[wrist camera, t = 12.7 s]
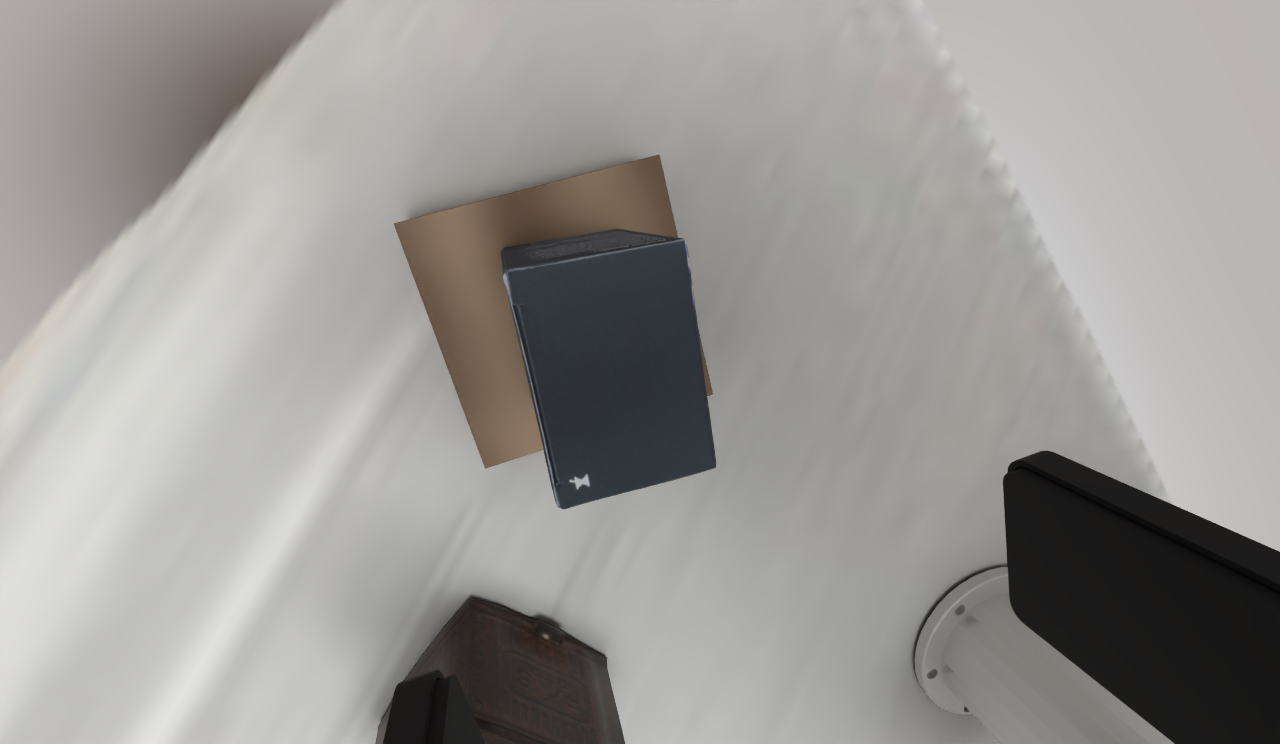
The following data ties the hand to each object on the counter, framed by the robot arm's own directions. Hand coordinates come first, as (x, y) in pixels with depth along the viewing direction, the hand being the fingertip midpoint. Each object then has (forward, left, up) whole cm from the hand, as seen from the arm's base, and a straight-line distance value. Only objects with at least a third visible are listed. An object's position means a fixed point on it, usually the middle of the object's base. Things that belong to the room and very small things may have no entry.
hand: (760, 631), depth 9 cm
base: (0, -2, -24) cm, 24 cm away
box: (0, -1, -20) cm, 20 cm away
